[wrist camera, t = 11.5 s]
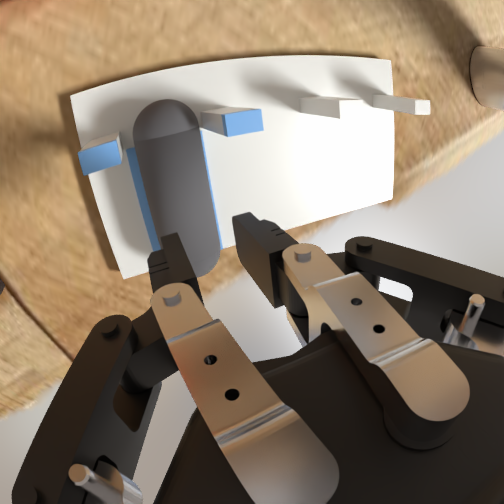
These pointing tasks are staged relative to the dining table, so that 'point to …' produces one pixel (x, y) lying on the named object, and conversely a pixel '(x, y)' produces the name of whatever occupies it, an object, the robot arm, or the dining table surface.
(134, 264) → the white peg board
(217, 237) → the dark grey rounded cylinder
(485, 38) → the dining table surface
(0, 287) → the hardcover book
